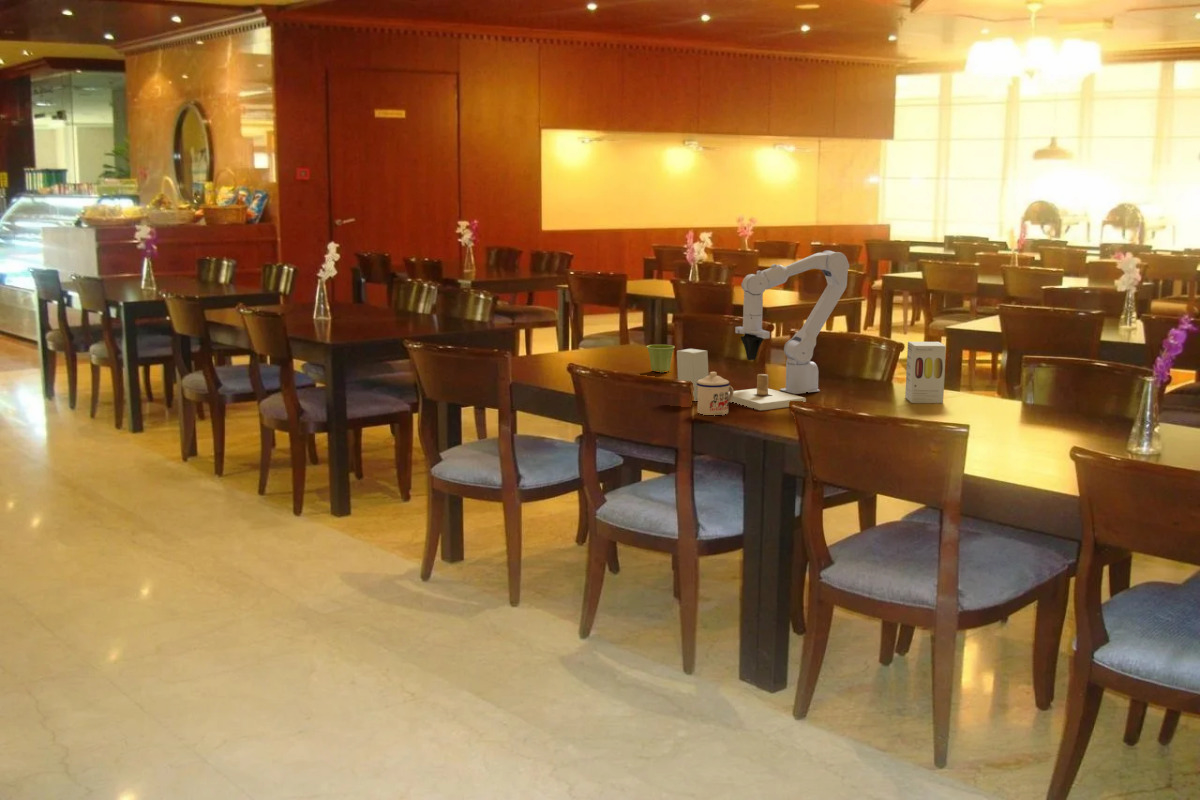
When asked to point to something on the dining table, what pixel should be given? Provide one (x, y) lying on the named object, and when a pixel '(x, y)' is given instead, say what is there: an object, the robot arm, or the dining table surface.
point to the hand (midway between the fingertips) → (751, 359)
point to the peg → (762, 385)
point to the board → (764, 399)
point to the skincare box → (692, 367)
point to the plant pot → (660, 357)
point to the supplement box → (925, 372)
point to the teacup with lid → (713, 395)
